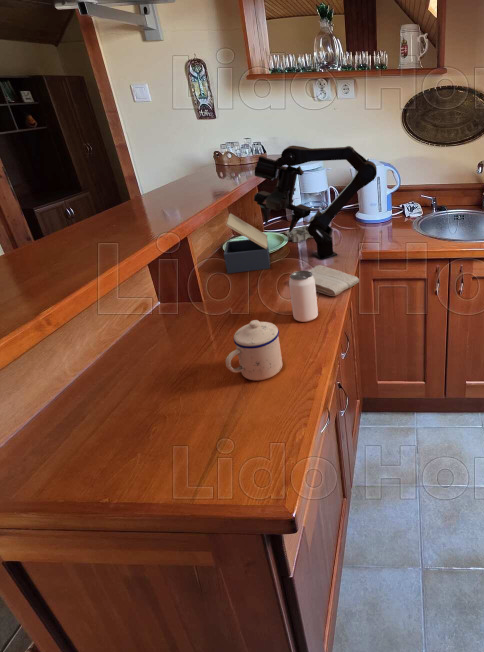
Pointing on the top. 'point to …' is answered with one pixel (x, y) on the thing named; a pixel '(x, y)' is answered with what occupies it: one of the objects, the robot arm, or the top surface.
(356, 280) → the washcloth
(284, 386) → the top surface
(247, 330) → the teacup with lid
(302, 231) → the egg carton
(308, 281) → the can
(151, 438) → the top surface
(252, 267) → the toy box
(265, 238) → the lid
